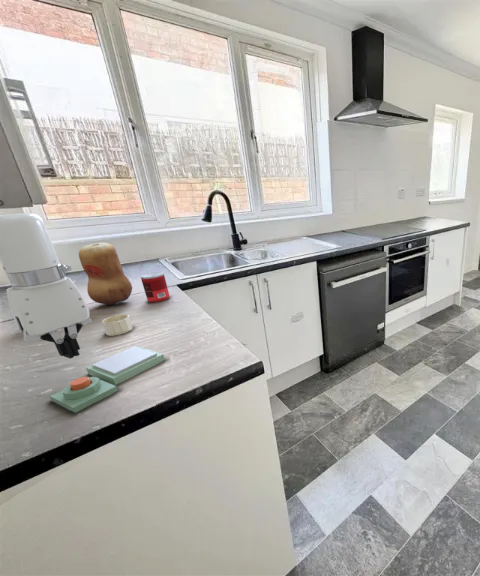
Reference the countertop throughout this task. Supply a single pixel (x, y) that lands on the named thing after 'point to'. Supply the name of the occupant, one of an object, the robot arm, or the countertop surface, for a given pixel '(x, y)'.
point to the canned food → (155, 286)
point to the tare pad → (83, 395)
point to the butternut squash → (104, 274)
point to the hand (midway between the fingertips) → (71, 355)
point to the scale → (125, 364)
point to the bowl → (117, 324)
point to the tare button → (80, 383)
